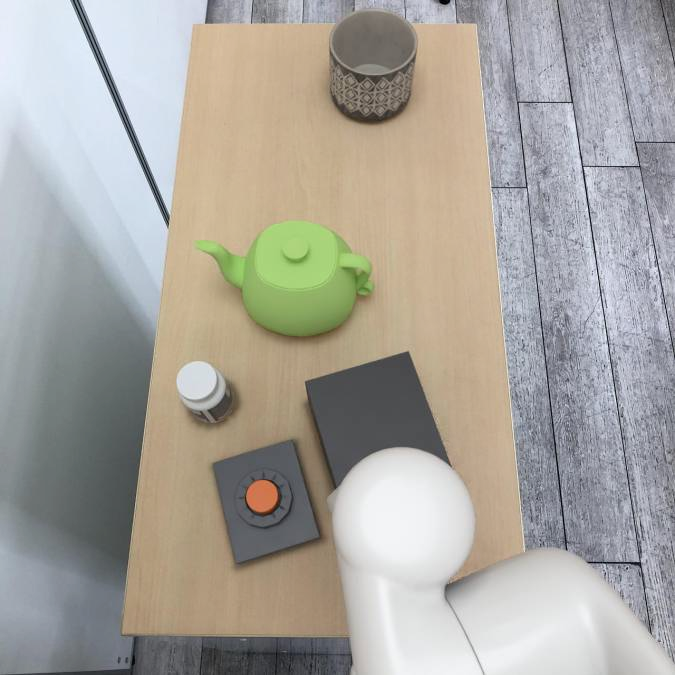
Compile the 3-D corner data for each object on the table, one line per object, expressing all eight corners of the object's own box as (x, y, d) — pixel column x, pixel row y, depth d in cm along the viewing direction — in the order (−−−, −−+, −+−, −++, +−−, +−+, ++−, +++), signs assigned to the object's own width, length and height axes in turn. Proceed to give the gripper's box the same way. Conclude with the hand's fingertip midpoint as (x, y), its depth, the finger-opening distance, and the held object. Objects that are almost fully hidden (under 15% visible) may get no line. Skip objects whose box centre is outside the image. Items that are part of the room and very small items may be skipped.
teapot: (205, 338, 84) (183, 296, 72) (221, 241, 90) (202, 186, 77) (370, 349, 83) (375, 309, 71) (375, 250, 89) (381, 197, 77)
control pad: (320, 538, 75) (319, 536, 71) (238, 564, 74) (233, 563, 70) (293, 442, 79) (291, 435, 75) (215, 466, 78) (209, 460, 74)
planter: (352, 52, 102) (353, -3, 93) (423, 79, 100) (432, 25, 91) (316, 108, 98) (313, 55, 89) (389, 137, 96) (395, 86, 86)
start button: (282, 508, 72) (281, 506, 71) (252, 517, 72) (250, 516, 70) (274, 478, 74) (273, 475, 72) (244, 487, 73) (242, 485, 72)
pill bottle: (229, 376, 82) (215, 349, 73) (240, 417, 80) (227, 395, 71) (186, 389, 82) (166, 364, 72) (196, 430, 80) (177, 410, 70)
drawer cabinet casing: (440, 485, 77) (453, 471, 68) (342, 516, 76) (342, 506, 67) (401, 376, 82) (408, 350, 73) (308, 403, 81) (304, 381, 72)
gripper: (500, 595, 41) (452, 588, 59) (369, 412, 46) (360, 456, 63) (409, 667, 40) (387, 639, 57) (282, 471, 44) (297, 499, 61)
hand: (373, 543), depth 60 cm, fingers closed
